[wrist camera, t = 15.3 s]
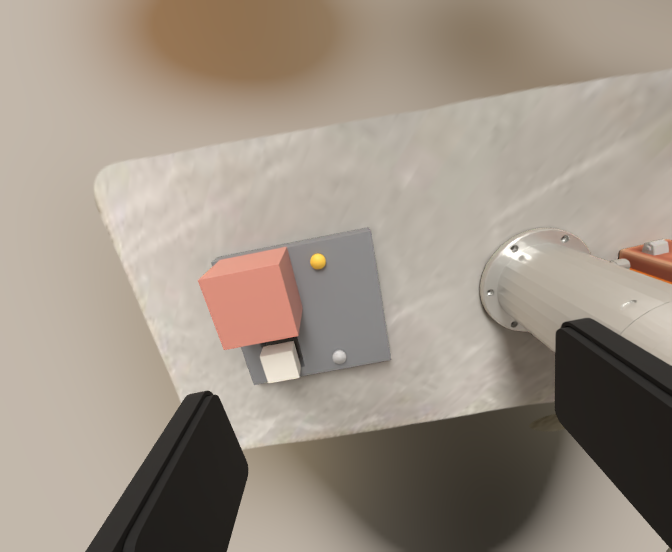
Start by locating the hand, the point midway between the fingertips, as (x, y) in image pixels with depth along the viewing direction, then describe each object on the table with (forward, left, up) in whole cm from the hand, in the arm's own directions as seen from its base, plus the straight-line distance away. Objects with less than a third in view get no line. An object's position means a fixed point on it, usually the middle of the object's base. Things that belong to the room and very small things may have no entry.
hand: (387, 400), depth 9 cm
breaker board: (+6, +9, -27) cm, 29 cm away
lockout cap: (+10, +4, -25) cm, 27 cm away
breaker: (+10, +13, -24) cm, 29 cm away
